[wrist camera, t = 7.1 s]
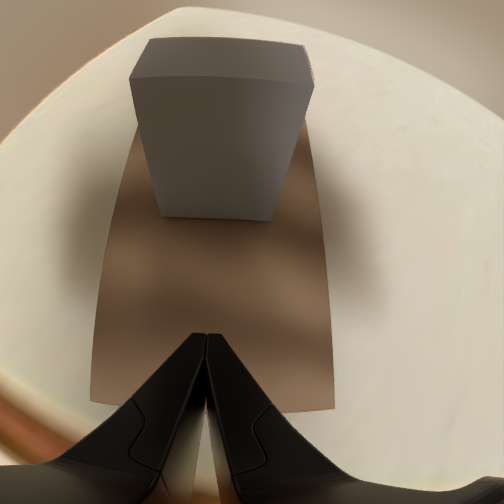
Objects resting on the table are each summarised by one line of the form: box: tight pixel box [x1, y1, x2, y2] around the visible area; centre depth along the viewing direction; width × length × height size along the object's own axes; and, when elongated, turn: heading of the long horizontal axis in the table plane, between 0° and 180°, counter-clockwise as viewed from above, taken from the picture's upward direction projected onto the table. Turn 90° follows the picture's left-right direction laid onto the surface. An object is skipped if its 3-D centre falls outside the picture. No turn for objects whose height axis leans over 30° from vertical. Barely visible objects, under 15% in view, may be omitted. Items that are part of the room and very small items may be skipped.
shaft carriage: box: [129, 37, 314, 221], centre depth 15 cm, size 13×6×9 cm, turn 0°
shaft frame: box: [90, 37, 335, 414], centre depth 15 cm, size 20×12×8 cm, turn 0°
